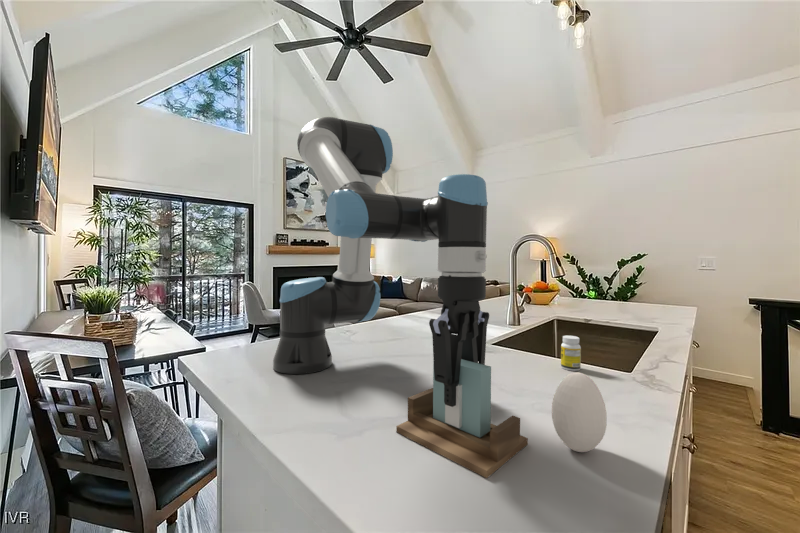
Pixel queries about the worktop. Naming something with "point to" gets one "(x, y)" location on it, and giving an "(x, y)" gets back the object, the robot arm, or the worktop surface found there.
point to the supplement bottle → (571, 353)
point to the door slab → (469, 398)
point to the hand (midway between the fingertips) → (460, 420)
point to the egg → (579, 412)
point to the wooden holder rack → (462, 437)
